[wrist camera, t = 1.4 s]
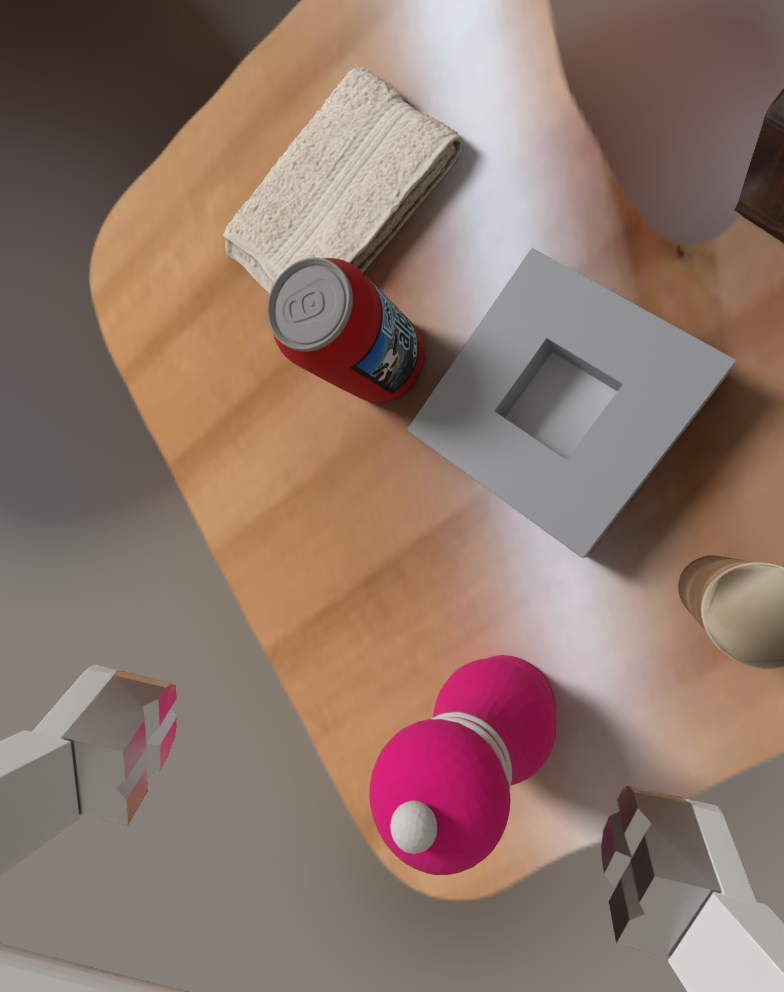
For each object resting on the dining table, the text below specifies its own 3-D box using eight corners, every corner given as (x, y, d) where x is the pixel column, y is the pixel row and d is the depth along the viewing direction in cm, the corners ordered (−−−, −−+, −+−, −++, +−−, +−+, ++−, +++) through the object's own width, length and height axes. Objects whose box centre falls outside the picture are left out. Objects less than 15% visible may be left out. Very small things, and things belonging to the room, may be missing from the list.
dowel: (705, 541, 37) (746, 542, 24) (769, 583, 36) (848, 608, 23) (663, 593, 38) (680, 621, 25) (723, 637, 37) (775, 690, 24)
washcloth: (230, 255, 52) (206, 238, 50) (366, 74, 49) (350, 44, 46) (316, 339, 49) (296, 327, 46) (470, 151, 45) (460, 124, 42)
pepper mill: (584, 733, 39) (542, 909, 21) (486, 774, 41) (367, 967, 23) (529, 629, 41) (445, 705, 22) (437, 673, 43) (290, 775, 24)
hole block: (539, 270, 42) (532, 247, 39) (726, 375, 38) (736, 360, 34) (423, 437, 44) (406, 429, 41) (586, 556, 40) (582, 558, 37)
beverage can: (436, 390, 44) (371, 340, 33) (353, 415, 47) (266, 376, 35) (418, 304, 45) (349, 226, 34) (337, 332, 48) (248, 269, 36)
